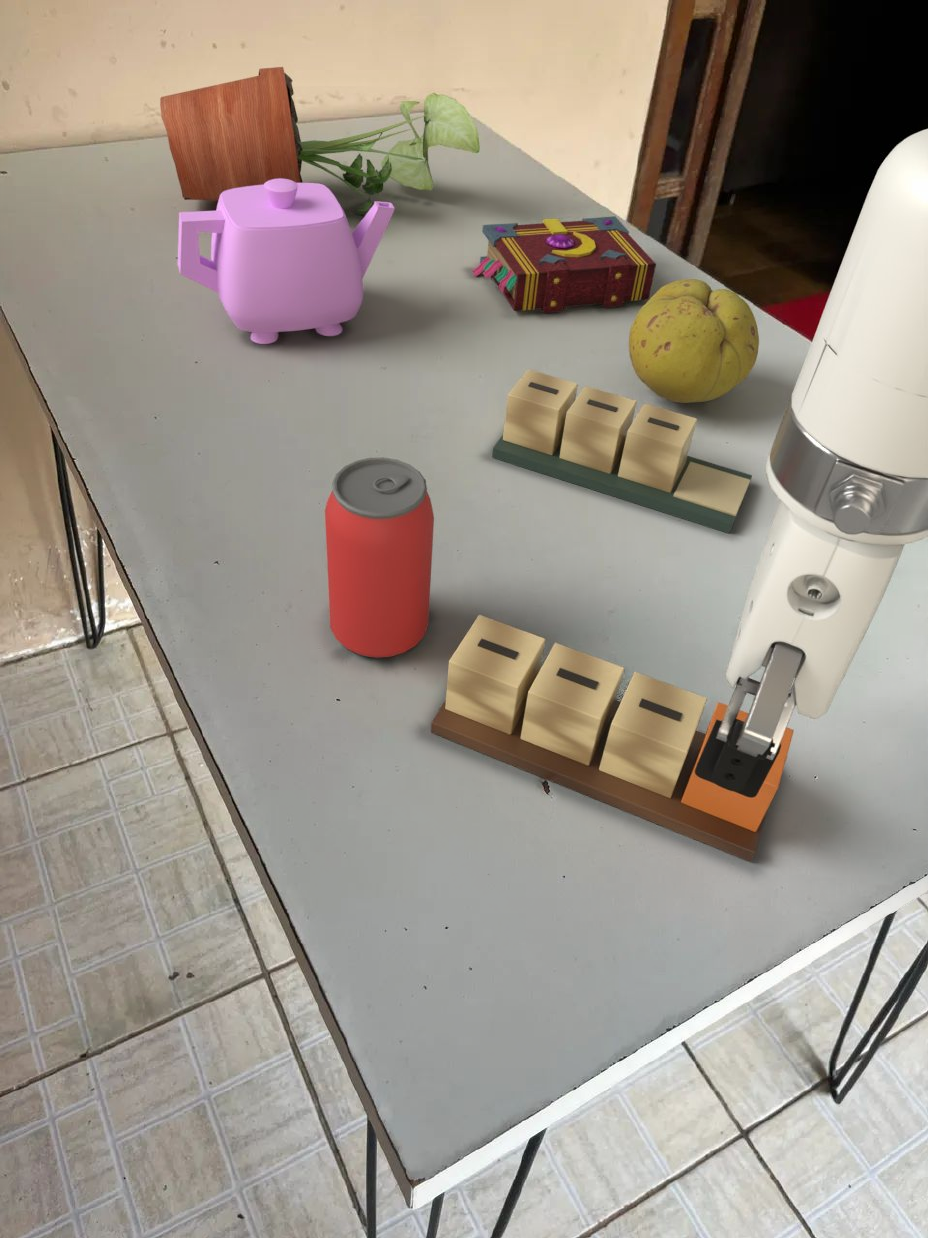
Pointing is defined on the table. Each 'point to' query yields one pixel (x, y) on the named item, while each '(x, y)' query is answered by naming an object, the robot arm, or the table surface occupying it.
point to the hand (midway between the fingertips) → (746, 716)
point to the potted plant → (292, 139)
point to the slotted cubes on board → (582, 728)
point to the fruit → (693, 341)
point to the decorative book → (566, 264)
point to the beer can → (379, 556)
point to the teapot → (282, 256)
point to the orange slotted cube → (730, 802)
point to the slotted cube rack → (617, 450)
